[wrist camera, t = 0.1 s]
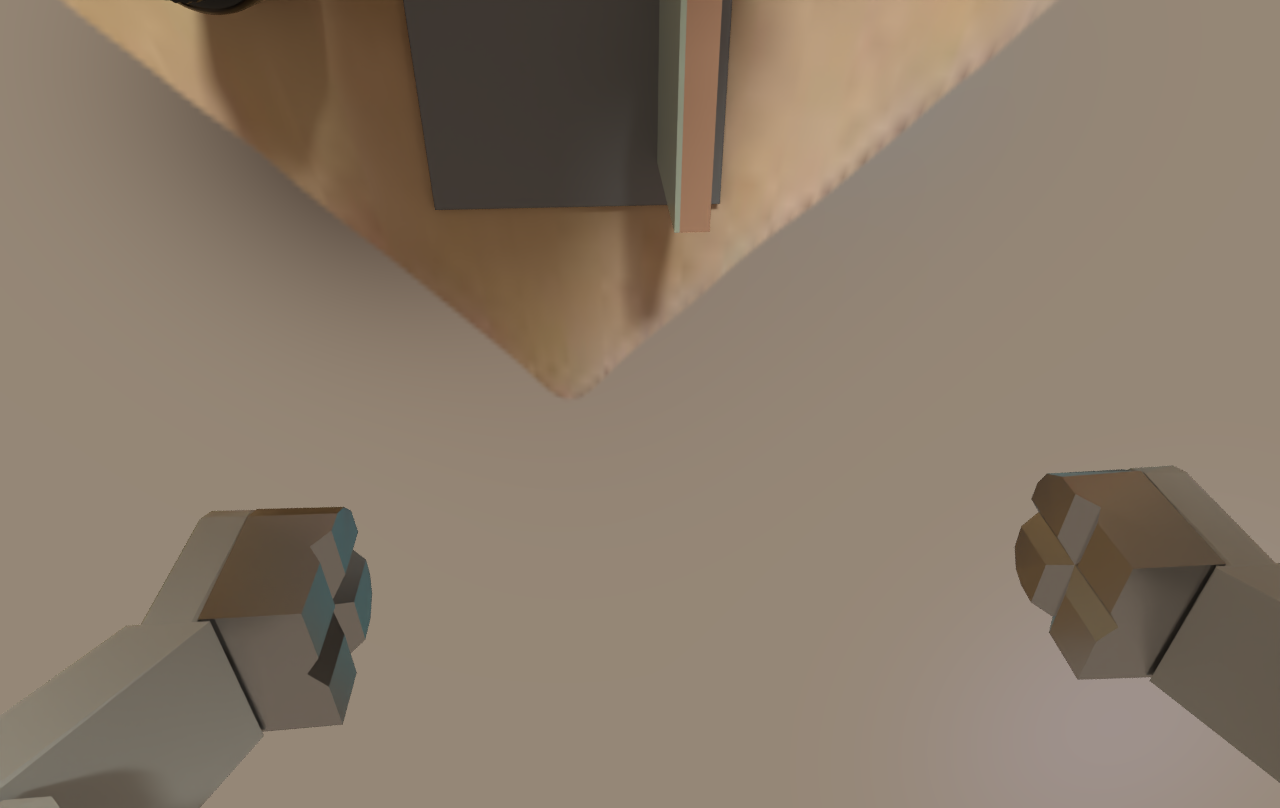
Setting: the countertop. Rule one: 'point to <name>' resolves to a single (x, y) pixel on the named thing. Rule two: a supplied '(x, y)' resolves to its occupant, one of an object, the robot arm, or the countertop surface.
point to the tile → (688, 108)
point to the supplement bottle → (217, 5)
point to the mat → (545, 101)
